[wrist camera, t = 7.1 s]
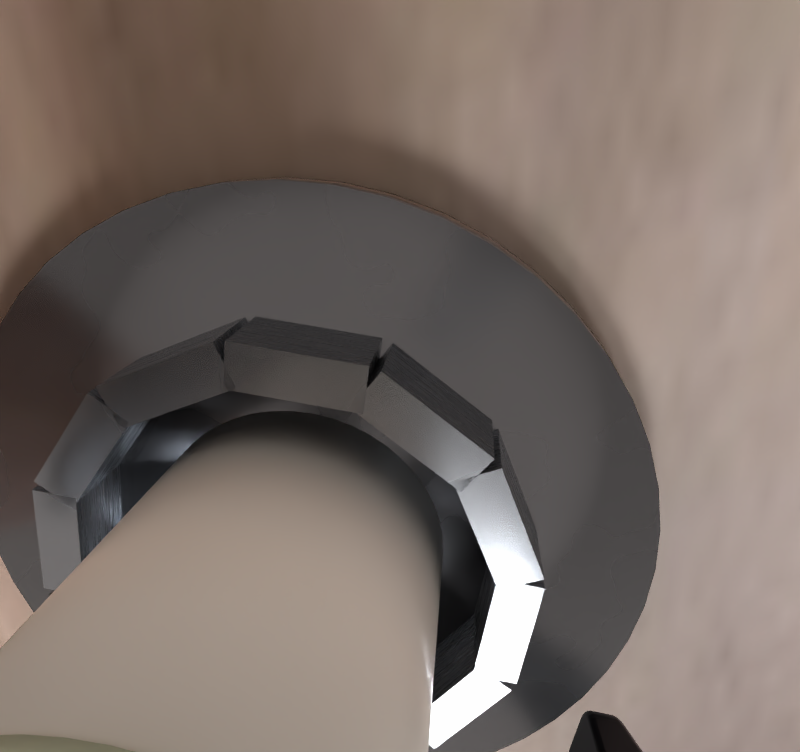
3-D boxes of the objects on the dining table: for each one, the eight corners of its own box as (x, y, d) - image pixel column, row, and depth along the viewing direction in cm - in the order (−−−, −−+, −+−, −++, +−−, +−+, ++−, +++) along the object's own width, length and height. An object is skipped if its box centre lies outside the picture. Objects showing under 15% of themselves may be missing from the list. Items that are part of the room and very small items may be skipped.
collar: (759, 247, 8) (832, 273, 7) (555, 797, 13) (567, 895, 11) (-47, 121, 9) (-167, 116, 7) (32, 687, 13) (-31, 763, 12)
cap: (471, 438, 9) (467, 891, 4) (421, 674, 11) (368, 1204, 6) (157, 382, 9) (-290, 721, 4) (162, 622, 11) (-133, 1074, 6)
